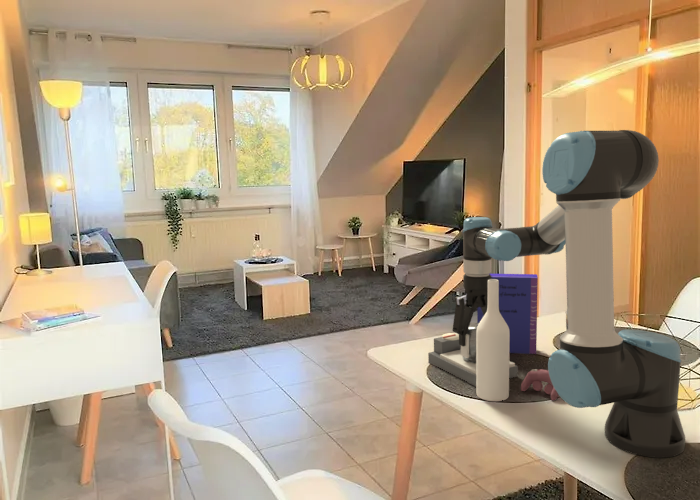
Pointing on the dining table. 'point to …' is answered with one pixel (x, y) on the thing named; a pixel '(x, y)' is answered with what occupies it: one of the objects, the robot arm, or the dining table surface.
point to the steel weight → (472, 342)
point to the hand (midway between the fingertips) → (477, 353)
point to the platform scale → (457, 359)
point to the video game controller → (539, 382)
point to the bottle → (492, 350)
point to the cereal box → (518, 310)
